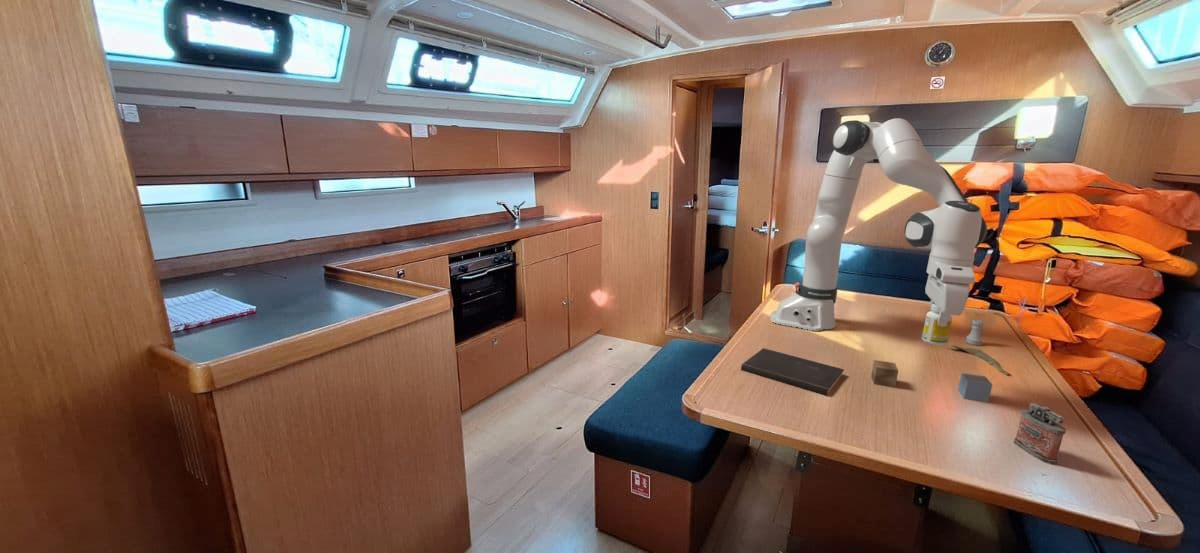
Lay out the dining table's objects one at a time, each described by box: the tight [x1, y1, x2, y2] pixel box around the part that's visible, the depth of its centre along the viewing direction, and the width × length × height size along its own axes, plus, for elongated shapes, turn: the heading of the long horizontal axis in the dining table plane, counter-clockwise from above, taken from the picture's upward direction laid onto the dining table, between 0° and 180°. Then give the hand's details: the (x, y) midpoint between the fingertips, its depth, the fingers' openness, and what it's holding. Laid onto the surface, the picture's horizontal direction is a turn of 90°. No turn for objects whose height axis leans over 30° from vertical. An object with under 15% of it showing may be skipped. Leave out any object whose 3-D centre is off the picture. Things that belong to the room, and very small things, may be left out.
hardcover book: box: [740, 347, 845, 397], centre depth 133 cm, size 16×23×2 cm
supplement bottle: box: [921, 304, 953, 346], centre depth 120 cm, size 5×5×10 cm
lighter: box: [1013, 402, 1067, 465], centre depth 96 cm, size 8×3×10 cm, turn 5°
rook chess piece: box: [964, 318, 985, 346], centre depth 154 cm, size 4×4×8 cm
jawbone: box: [945, 343, 1012, 376], centre depth 142 cm, size 9×20×2 cm, turn 11°
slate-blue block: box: [957, 372, 993, 403], centre depth 120 cm, size 5×5×5 cm
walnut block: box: [870, 359, 899, 388], centre depth 127 cm, size 5×5×5 cm
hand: (937, 321), depth 120 cm, fingers closed on supplement bottle, 5 cm apart
